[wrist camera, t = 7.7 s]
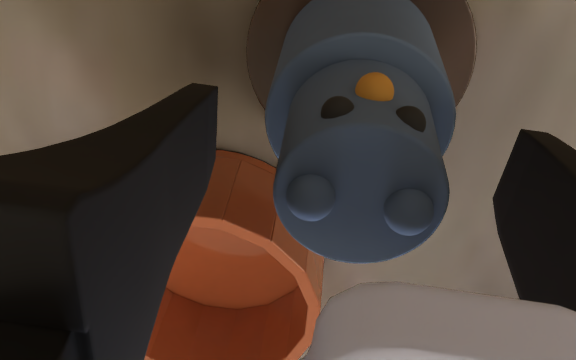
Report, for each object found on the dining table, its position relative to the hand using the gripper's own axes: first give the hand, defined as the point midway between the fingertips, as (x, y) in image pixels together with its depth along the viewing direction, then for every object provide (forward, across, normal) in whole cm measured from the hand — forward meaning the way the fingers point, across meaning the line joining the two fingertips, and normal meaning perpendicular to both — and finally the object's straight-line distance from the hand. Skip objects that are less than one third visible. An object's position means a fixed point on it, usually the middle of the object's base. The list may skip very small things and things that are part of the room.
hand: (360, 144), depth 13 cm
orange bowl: (+6, +4, +9) cm, 11 cm away
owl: (+5, 0, 0) cm, 5 cm away
